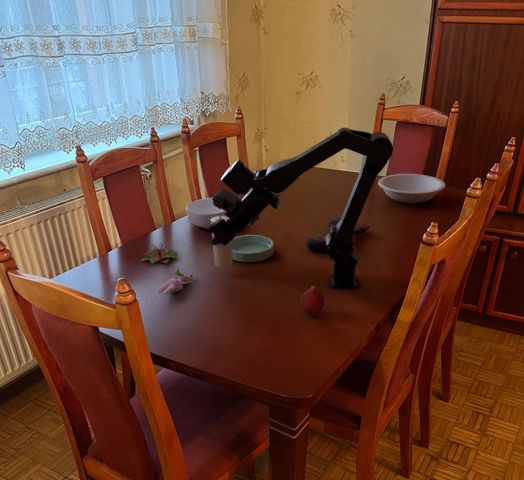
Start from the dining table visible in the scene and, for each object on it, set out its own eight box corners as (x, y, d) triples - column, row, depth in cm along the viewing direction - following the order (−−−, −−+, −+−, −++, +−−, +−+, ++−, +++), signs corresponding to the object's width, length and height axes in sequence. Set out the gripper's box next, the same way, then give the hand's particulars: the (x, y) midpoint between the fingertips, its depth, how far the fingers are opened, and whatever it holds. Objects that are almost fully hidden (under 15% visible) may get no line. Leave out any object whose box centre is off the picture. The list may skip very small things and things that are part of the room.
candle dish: (271, 263, 159) (271, 253, 157) (223, 263, 161) (222, 252, 159) (275, 244, 171) (275, 235, 169) (230, 244, 173) (229, 234, 171)
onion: (309, 306, 137) (310, 278, 133) (328, 313, 134) (330, 284, 130) (296, 316, 133) (296, 287, 129) (315, 323, 130) (316, 293, 126)
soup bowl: (386, 187, 217) (388, 171, 213) (447, 194, 208) (450, 177, 204) (368, 206, 199) (370, 188, 195) (435, 214, 190) (438, 196, 186)
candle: (231, 267, 149) (227, 218, 142) (213, 267, 150) (208, 218, 142) (233, 260, 153) (230, 212, 146) (216, 260, 154) (212, 212, 146)
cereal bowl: (207, 213, 197) (205, 194, 193) (245, 221, 189) (244, 201, 185) (177, 229, 185) (175, 208, 181) (217, 237, 177) (216, 216, 173)
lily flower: (186, 252, 168) (184, 238, 165) (169, 268, 158) (167, 253, 156) (151, 248, 171) (149, 234, 169) (133, 263, 162) (130, 249, 159)
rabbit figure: (178, 282, 154) (151, 298, 141) (177, 261, 151) (149, 276, 138) (198, 285, 152) (172, 301, 139) (198, 264, 149) (171, 279, 136)
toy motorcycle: (302, 255, 167) (351, 257, 159) (300, 239, 164) (350, 240, 156) (334, 230, 185) (379, 230, 177) (333, 215, 183) (378, 215, 175)
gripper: (247, 171, 144) (214, 207, 154) (212, 191, 130) (179, 229, 140) (274, 203, 146) (240, 236, 156) (243, 227, 132) (208, 262, 142)
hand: (217, 240), depth 148 cm, fingers closed on candle, 5 cm apart
